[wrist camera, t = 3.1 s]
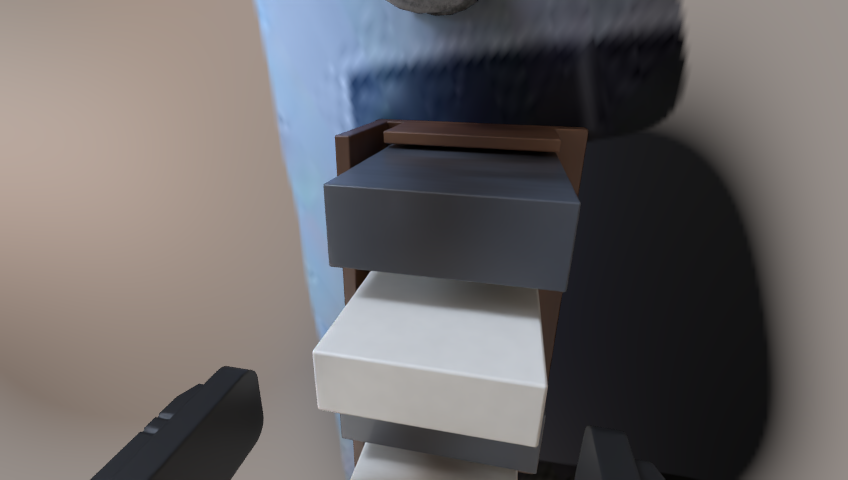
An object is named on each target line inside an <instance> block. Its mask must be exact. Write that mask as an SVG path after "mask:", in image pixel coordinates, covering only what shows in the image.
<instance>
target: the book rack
mask: <svg viewBox="0 0 848 480" xmlns="http://www.w3.org/2000/svg"><path fill="white" fill-rule="evenodd" d="M588 132H589V131H588V129H586V128H582V127H559V126H535V125H511V124H488V123H464V122H440V121H417V120H393V119H379V120H376V121H375V122H372V123H369V124H366V125H364V126H361V127H358V128H355V129H352V130H350V131H347V132H344V133H341V134H338V135H336V136H335V145H336V162H337V177H335V178H334V179H332V180H330V181H329V182H327V183H325V184H324V199H325V213H326V226H327V240H328V254H329V265H330V266H331V267H340V268H343V278H344V295H345V306H346V305H347V303H348V302H349V301H350V299H351V298H352V296H353V295H354V294H355V292H356V291H357V290H358V288H359V287H360V285H361V284H362V283H363V281H364V280H365V279H366V277H367V276H368V274H369V273H370V272H371V271H377V272H386V273H395V274H404V275H413V276H423V277H432V278H441V279H450V280H459V281H468V282H477V283H487V284H496V285H505V286H514V287H523V288H532V289H538V293H539V303H540V313H541V323H542V333H543V343H544V353H545V363H546V373H547V383H548V378H549V373H550V366H551V361H552V354H553V348H554V342H555V336H556V330H557V324H558V317H559V311H560V305H561V299H562V293H563V292H566V290H567V286H568V280H569V274H570V268H571V261H572V256H573V249H574V243H575V238H576V232H577V225H578V219H579V214H580V207H581V203H580V201H579V199H578V194H579V188H580V181H581V175H582V169H583V163H584V157H585V150H586V144H587V138H588ZM340 419H341V433H342V438H345V439H351V440H353V445H354V462H355V469H354V472H353V474H352V477H351V479H350V480H518V472H523V473H528V474H533V473H534V474H536V473H537V467H538V461H539V455H540V449H541V442H542V437H543V431H544V425H545V419H546V410H545V408H544V415H543V421H542V427H541V433H540V439H539V444H538V446H537V447H530V446H525V445H519V444H513V443H507V442H502V441H496V440H490V439H485V438H479V437H473V436H467V435H462V434H456V433H450V432H445V431H439V430H433V429H427V428H422V427H416V426H410V425H404V424H399V423H393V422H387V421H382V420H376V419H370V418H364V417H359V416H353V415H347V414H342V413H340Z"/></svg>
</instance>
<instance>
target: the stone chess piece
mask: <svg viewBox="0 0 848 480" xmlns="http://www.w3.org/2000/svg"><path fill="white" fill-rule="evenodd" d="M386 1H388V2H390V3H391V4H393V5H395V6H396V7H398V8H400V9H403V10H407V11H411V12H415V13H427V14H431V15H435V16H436V15H451V14H454V13H457V12H460V11H463V10H465V9H467V8H468V7H470V6H471V5H473V4H474V3H475V2H477V1H478V0H386Z"/></svg>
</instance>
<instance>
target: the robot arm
mask: <svg viewBox="0 0 848 480" xmlns="http://www.w3.org/2000/svg"><path fill="white" fill-rule="evenodd" d="M262 426H263V411H262V404H261V397H260V391H259V384H258V377H257V374H256V373H255V371H252V370H247V369H241V368H235V367H229V366H224V367H222V368H220V369H219V370H218V371H217V372H216V373H215V374H214V375H213V376H212V377H211V378H210V379H209V380H208V381H207V382H206V383H205V384H204V385H203V384H198V385H196V386H194V387H193V388H191V389H189V390H188V391H186V392H184V393H182V394H181V395H179V396H177V397H176V398H175V399H174V400H173V401H172V402H171V403H170V404H169V405H168V406H167V407H166V408H165V409H164V410H162V411H161V412H160V413H159V416H158V417H155V418H154V419H153V420H152V421H151V422H150V423H149V424H148V425H147V426H146V427H145V428H144V431H143V432H140V433H138V435H137V436H135V437H134V438H133V439H132V440H131V441H130V442H129V443H128V444H127V445H126V446H125V447H124V448H123V449H122V450H121V451H120V452H119V453H118V454H117V455H116V456H114V457H113V458H112V459H111V460H110V461H109V462H108V463H107V464H106V465H105V466H104V467H103V468H102V469H101V470H100V471H99V472H98V473H97V474H96V475H95V476H94V477H93V478H92V479H91V480H231V478H232V477H233V475H234V474H235V473H236V471H237V470H238V468H239V467H240V465H241V464H242V462H243V461H244V460H245V458H246V456H247V455H248V453H249V452H250V451H251V450H252V448H253V447H254V445H255V444H256V442H257V440H258V438H259V436H260V433H261V430H262ZM575 480H665V478H664V477H663V476H662V475H661V473H660V472H659V471H658V470H657V468H656V467H655V466H654V465H653V463H652V462H648V461H642V460H636V459H634V457H633V454H632V450H631V447H630V444H629V441H628V438H627V435H626V434H625V432H624V431H621V430H615V429H608V428H602V427H596V426H589V425H588V426H587V427H586V429H585V432H584V437H583V441H582V446H581V450H580V455H579V460H578V464H577V469H576V474H575Z"/></svg>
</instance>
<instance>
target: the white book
mask: <svg viewBox="0 0 848 480" xmlns="http://www.w3.org/2000/svg"><path fill="white" fill-rule="evenodd" d="M313 363H314V373H315V383H316V393H317V403H318V408H319V409H320V410H324V411H330V412H336V413H342V414H347V415H353V416H359V417H364V418H370V419H376V420H382V421H387V422H393V423H399V424H404V425H410V426H416V427H422V428H427V429H433V430H439V431H445V432H450V433H456V434H462V435H467V436H473V437H479V438H485V439H490V440H496V441H502V442H507V443H513V444H519V445H525V446H530V447H537V446H538V444H539V439H540V433H541V427H542V421H543V415H544V408H545V402H546V396H547V390H548V383H547V373H546V363H545V353H544V343H543V333H542V323H541V313H540V303H539V293H538V289H532V288H523V287H514V286H505V285H496V284H487V283H477V282H468V281H459V280H450V279H441V278H432V277H423V276H413V275H404V274H395V273H386V272H377V271H371V272H370V273H369V274H368V276H367V277H366V279H365V280H364V281H363V283H362V284H361V285H360V287H359V288H358V290H357V291H356V292H355V294H354V295H353V296H352V298H351V299H350V301H349V302H348V303H347V305H346V306H345V307H344V309H343V310H342V312H341V313H340V314H339V316H338V317H337V319H336V320H335V321H334V323H333V324H332V325H331V327H330V328H329V330H328V331H327V332H326V334H325V335H324V336H323V338H322V339H321V341H320V342H319V343H318V345H317V346H316V347H315V349H314V350H313Z"/></svg>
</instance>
